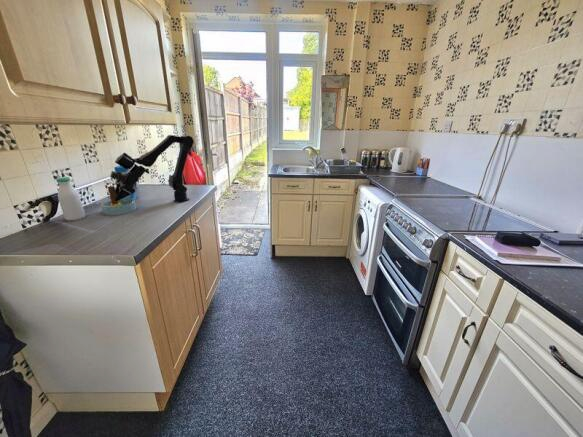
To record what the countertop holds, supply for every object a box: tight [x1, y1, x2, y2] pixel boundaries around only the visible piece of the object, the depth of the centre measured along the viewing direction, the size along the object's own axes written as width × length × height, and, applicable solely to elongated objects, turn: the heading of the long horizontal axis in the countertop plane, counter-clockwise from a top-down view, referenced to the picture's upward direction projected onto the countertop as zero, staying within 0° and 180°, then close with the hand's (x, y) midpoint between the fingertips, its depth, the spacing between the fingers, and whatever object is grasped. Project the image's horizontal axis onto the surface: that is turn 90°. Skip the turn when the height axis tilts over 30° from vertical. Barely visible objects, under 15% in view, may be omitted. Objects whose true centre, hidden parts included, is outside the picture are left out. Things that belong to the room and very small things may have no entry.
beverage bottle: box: [114, 165, 137, 200], centre depth 148 cm, size 8×8×20 cm
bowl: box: [100, 199, 137, 216], centre depth 130 cm, size 15×15×5 cm
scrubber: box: [107, 185, 121, 206], centre depth 127 cm, size 4×4×13 cm
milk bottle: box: [56, 176, 86, 221], centre depth 116 cm, size 8×8×20 cm
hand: (114, 198), depth 127 cm, fingers open, 9 cm apart
